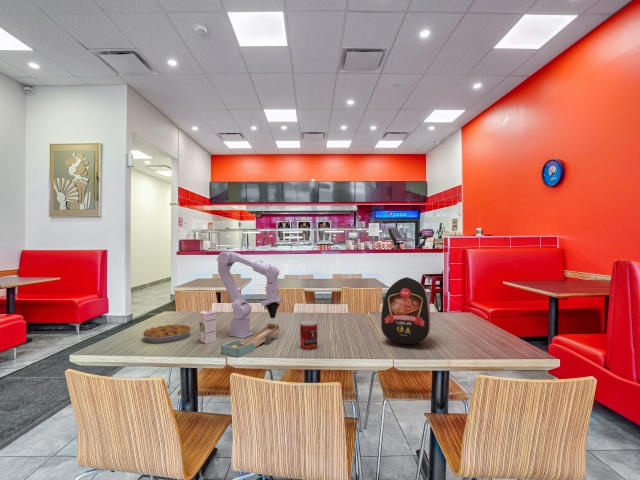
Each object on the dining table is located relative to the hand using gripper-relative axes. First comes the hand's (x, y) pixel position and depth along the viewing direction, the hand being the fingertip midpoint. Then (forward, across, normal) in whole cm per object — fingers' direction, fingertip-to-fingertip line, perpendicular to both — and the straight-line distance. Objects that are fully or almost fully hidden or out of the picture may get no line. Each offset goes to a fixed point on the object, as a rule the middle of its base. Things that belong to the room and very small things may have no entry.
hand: (272, 317), depth 162 cm
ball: (+8, -28, -2) cm, 29 cm away
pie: (+10, -27, +46) cm, 54 cm away
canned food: (+10, -5, -25) cm, 27 cm away
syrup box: (+10, -22, +22) cm, 33 cm away
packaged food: (+10, +23, -61) cm, 66 cm away
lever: (+7, -10, +2) cm, 12 cm away
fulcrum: (+9, -10, -2) cm, 14 cm away
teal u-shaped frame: (+9, -26, -2) cm, 27 cm away
